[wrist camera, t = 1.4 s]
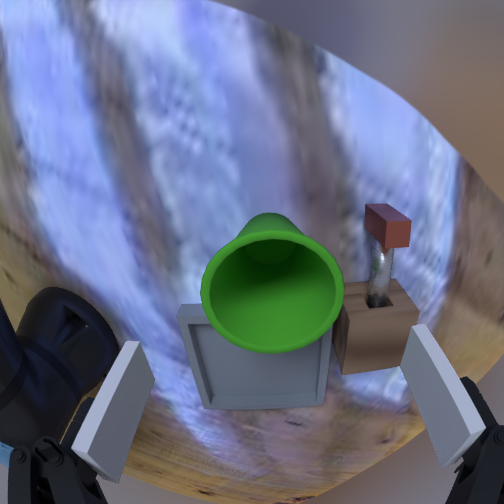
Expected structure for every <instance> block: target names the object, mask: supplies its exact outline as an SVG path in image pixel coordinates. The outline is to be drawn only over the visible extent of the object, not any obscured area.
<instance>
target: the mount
mask: <svg viewBox="0 0 504 504" xmlns="http://www.w3.org/2000/svg"><path fill="white" fill-rule="evenodd" d="M344 287H345V290H344V299H343V304H342V307H341V309H340V312H339V314H338V317H337V319H336V320H335V321H334V323H333V328H332V340H333V344H334V348H335V351H336V355H337V359H338V362H339V366H340V370H341V374H342V375H347V374H354V373H361V372H368V371H374V370H380V369H386V368H392V367H397V366H400V364H401V361H402V358H403V354H404V351H405V348H406V344H407V341H408V337H409V334H410V330H411V326H415V325H416V324H417V320H418V316H419V312H420V311H419V309H418V308H417V307H416V305H415V304H414V303H413V301H412V300H411V299H410V297H409V296H408V294H407V293H406V292H405V290H404V289H403V288H402V286H401V285H400V284H399V283H398V281H397V280H396V279H390V285H389V292H388V298H387V304H386V307H381V308H372V309H369V308H368V306H367V296H368V288H369V281H366V282H354V283H344Z"/></svg>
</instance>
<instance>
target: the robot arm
mask: <svg viewBox="0 0 504 504" xmlns="http://www.w3.org/2000/svg"><path fill="white" fill-rule="evenodd" d="M400 368H401V370H402V372H403V374H404V376H405V379H406V381H407V383H408V385H409V388H410V390H411V392H412V394H413V397H414V399H415V401H416V404H417V406H418V409H419V411H420V413H421V416H422V418H423V421H424V423H425V426H426V428H427V431H428V433H429V435H430V438H431V441H432V444H433V446H434V449H435V452H436V455H437V457H438V460H439V463H440V466H441V468H444V467H446V466H449V465H451V464H454V463H456V462H457V461H458V460H459V459H460V458H461V457H463V459H464V461H463V462H462V463H461V464H460V466H458V467H457V469H456V470H455V471H454V473H456V472H457V471H459V473H458V475H457V478H456V480H455V483H454V485H453V487H452V490H451V492H450V494H449V497H448V499H447V501H446V503H445V504H504V426H503V425H498V423H497V422H496V420H495V418H494V416H493V414H492V412H491V411H490V409H489V407H488V405H487V403H486V402H485V400H483V397H482V395H481V393H479V390H478V388H477V386H476V385H475V383H474V382H473V381H472V380H470V379H469V378H468V377H467V376H466V377H463V378H460V379H459V377H458V376H457V374H456V372H455V371H454V369H453V367H452V366H451V364H450V362H449V361H448V359H447V358H446V356H445V354H444V353H443V351H442V350H441V348H440V347H439V345H438V343H437V342H436V340H435V339H434V337H433V336H432V334H431V333H430V331H429V330H428V328H427V327H426V325H425V324H421V325H415V326H411V330H410V334H409V337H408V341H407V344H406V348H405V351H404V354H403V358H402V361H401V364H400ZM105 378H106V379H105ZM104 379H105V381H104V383H103V385H102V386H101V388H100V390H99V392H98V394H97V396H96V398H91V397H88V398H87V399H86V400H85V401H84V402H83V403H82V404H81V405H80V407H79V409H78V411H77V412H76V413H77V414H75V416H74V418H73V421H72V422H71V424H70V426H69V428H68V430H67V432H66V434H65V436H64V438H63V440H62V442H61V444H59V443H60V441H61V439H62V437H63V435H64V432H65V430H66V428H67V426H68V424H69V422H70V420H71V418H72V416H73V414H74V412H75V410H76V408H77V406H78V404H79V402H80V401H81V399H82V397H83V396H84V395H85V394H87V393H88V392H89V391H90V390H92V389H93V388H94V387H95V386H96V385H97V384H98V383H99V382H101V381H103V380H104ZM154 381H155V378H154V376H153V373H152V371H151V369H150V366H149V364H148V361H147V359H146V356H145V354H144V351H143V349H142V346H141V343H140V341H126V342H125V344H124V346H123V348H122V350H121V351H120V353H119V355H118V346H117V343H116V340H115V337H114V335H113V333H112V331H111V329H110V327H109V326H108V324H107V323H106V321H105V320H104V319H103V318H102V316H101V315H100V314H99V313H98V312H97V311H96V310H95V309H94V308H93V307H92V306H91V305H90V304H89V303H87V302H86V301H85V300H84V299H82V298H81V297H79V296H78V295H76V294H74V293H72V292H70V291H68V290H65V289H62V288H57V287H49V288H45V289H43V290H41V291H40V292H39V293H38V294H36V295H35V296H34V297H33V298H32V299H31V300H30V302H29V303H28V305H27V307H26V310H25V313H24V315H23V317H22V319H21V321H20V324H19V326H18V329H17V331H16V333H15V331H14V329H13V327H12V324H11V322H10V320H9V318H8V316H7V313H6V311H5V309H4V306H3V304H2V301H1V299H0V463H2V464H3V465H4V466H6V467H8V468H9V473H8V504H108V503H107V501H106V499H105V497H104V494H103V492H102V490H101V488H100V485H99V483H98V481H97V480H96V476H97V474H98V475H99V476H101V477H102V478H103V479H105V480H108V481H112V482H115V483H119V480H120V477H121V474H122V471H123V468H124V465H125V462H126V459H127V456H128V453H129V450H130V447H131V444H132V442H133V439H134V436H135V433H136V430H137V427H138V425H139V422H140V419H141V416H142V413H143V411H144V408H145V405H146V402H147V400H148V397H149V394H150V392H151V389H152V386H153V384H154Z"/></svg>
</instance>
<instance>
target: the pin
mask: <svg viewBox="0 0 504 504" xmlns="http://www.w3.org/2000/svg"><path fill="white" fill-rule="evenodd" d="M411 221H412V220H410V219H409V218H407V217H406V216H405V215H403V214H402V213H400V212H399V211H397V210H396V209H394V208H393V207H391V206H390V205H388V204H365V228H366V229H367V230H368V231H369V232H370V233H371V234H372V235H373V248H372V260H371V270H370V280H369V288H368V296H367V306H368V308H369V309H372V308H381V307H386V304H387V298H388V292H389V285H390V278H391V271H392V263H393V255H394V248H401V247H409V241H410V232H411Z"/></svg>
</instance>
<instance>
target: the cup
mask: <svg viewBox="0 0 504 504" xmlns="http://www.w3.org/2000/svg"><path fill="white" fill-rule="evenodd" d="M344 290H345V287H344V281H343V275H342V272H341V270H340V268H339V266H338V264H337V262H336V260H335V258H334V257H333V256H332V255H331V254H330V253H329V252H328V250H327V249H326V248H325V247H324V246H322V245H321V244H319V243H318V242H316V241H315V240H313V239H311V238H310V237H308V236H305V235H304V234H303V233H302V232H301V231H300V230H299V229H298V228H297V227H296V226H295V225H294V224H293V223H292V222H291V221H290V220H289V219H288V218H286V217H285V216H283V215H280V214H277V213H262V214H260V215H257V216H255V217H254V218H252V219H251V220H250V221H249V222H248V223H247V224H246V226H245V227H244V228H243V229H242V231H241V232H240V233H239V234H238V236H237V237H236V238H235V239H234V240H232V241H231V242H230V243H228V244H227V245H226V246H224V247H223V248H221V249H220V250H219V251H218V252H217V253H216V255H215V256H214V257H213V258H212V260H211V261H210V262H209V263H208V265H207V268H206V270H205V272H204V275H203V277H202V282H201V291H200V295H201V301H202V307H203V310H204V312H205V314H206V316H207V318H208V320H209V322H210V324H211V325H212V326H213V327H214V329H215V330H216V331H217V332H218V333H219V334H220V335H221V336H222V337H224V338H225V339H226V340H227V341H229V342H230V343H232V344H234V345H236V346H238V347H240V348H242V349H245V350H249V351H253V352H257V353H267V354H277V353H285V352H291V351H294V350H297V349H300V348H303V347H305V346H307V345H309V344H311V343H312V342H314V341H316V340H317V339H319V338H320V337H321V336H322V335H323V334H324V333H325V332H327V331H328V330H329V328H330V327H331V326H332V324H333V323H334V321H335V320H336V319H337V317H338V314H339V312H340V309H341V307H342V304H343V299H344Z"/></svg>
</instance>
